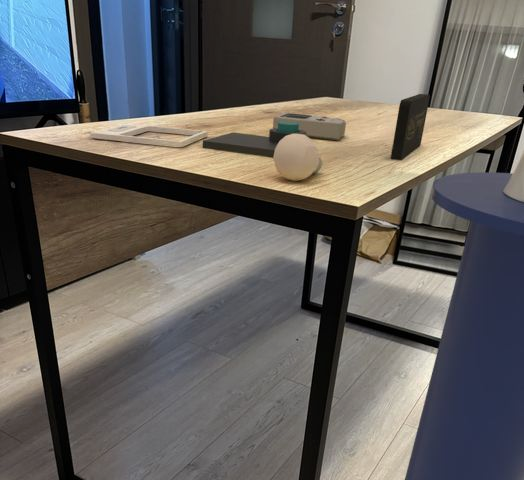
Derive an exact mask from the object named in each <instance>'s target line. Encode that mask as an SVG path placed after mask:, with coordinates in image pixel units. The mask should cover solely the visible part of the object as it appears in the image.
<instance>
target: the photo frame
mask: <svg viewBox="0 0 524 480" xmlns="http://www.w3.org/2000/svg"><path fill="white" fill-rule="evenodd" d="M146 132H155V133H156V132H158V133H167V134H168V133H169V134H176V135H177V134H178V135H186V136H188V137H185V138H182V139H180V140H174V139H173V140H172V139H164V138H156V137H155V138H154V137H143V136H136V135H139V134H143V133H146ZM208 136H209V131H207V130H198V129H190V128H189V129H188V128H179V127H168V126H157V125H149V124H148V125H147V124H139V123H127V122H126V123H125V122H124V123H122V124H121V123H120V124H118V125H113V126H110V127H106V128H102V129H98V130H95V131H91V132H89V138H90V139H98V140H107V141H115V142H116V141H117V142H125V143H136V144H146V145H155V146H165V147H176V148H184V147H186V146H188V145H190V144H192V143H195V142H197V141H199V140H203V139H204V138H207V137H208Z"/></svg>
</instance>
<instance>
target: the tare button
mask: <svg viewBox="0 0 524 480" xmlns="http://www.w3.org/2000/svg"><path fill="white" fill-rule="evenodd" d="M298 130H299V123H295V122H278V130H277V131H279V132H286V133H298Z"/></svg>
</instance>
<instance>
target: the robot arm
mask: <svg viewBox="0 0 524 480" xmlns="http://www.w3.org/2000/svg"><path fill="white" fill-rule="evenodd" d="M512 174H513V175H512V176H511V178H510V180H509V182H508V183H507V185H506V187H505V188H504V190H503V192H504V193H505V194H506V195H507V196H509V197H511V198H513V199H516V200H518V201H521V202H524V150H523V151H522V153H521V156H520V158H519V160H518V163H517V165H516V167H515V169H514V170H513V173H512Z"/></svg>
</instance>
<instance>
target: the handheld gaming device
mask: <svg viewBox="0 0 524 480" xmlns="http://www.w3.org/2000/svg"><path fill="white" fill-rule="evenodd" d="M278 122H295V123H299V130H303V131H305V132H306V136H307V137H308V138H310V139H312V138H313V139H320V140H330V141H338V140H340V139H341V138H342V137H343V136H345V134H346V127H347V122H346V121H345V119H342V118H338V117H328V116H321V115H314V114H313V115H312V114H301V113H292V112H283V113H280V114H277V115H274V116H273V120H272V129H273V128H278Z"/></svg>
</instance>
